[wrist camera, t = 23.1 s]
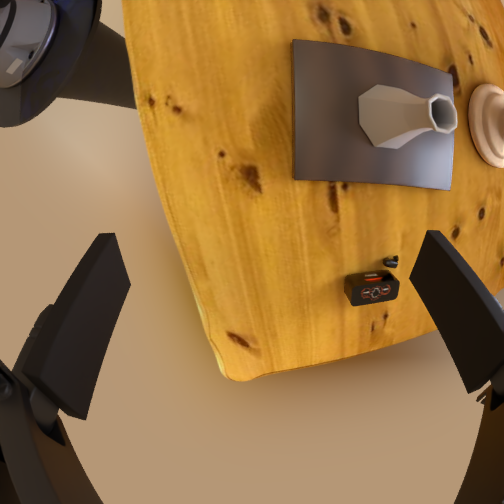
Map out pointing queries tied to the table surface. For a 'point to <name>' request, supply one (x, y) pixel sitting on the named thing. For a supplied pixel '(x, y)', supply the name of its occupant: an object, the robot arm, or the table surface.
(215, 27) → the table surface
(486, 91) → the candle holder
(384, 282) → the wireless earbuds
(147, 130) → the table surface
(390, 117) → the flask
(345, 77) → the walnut board
